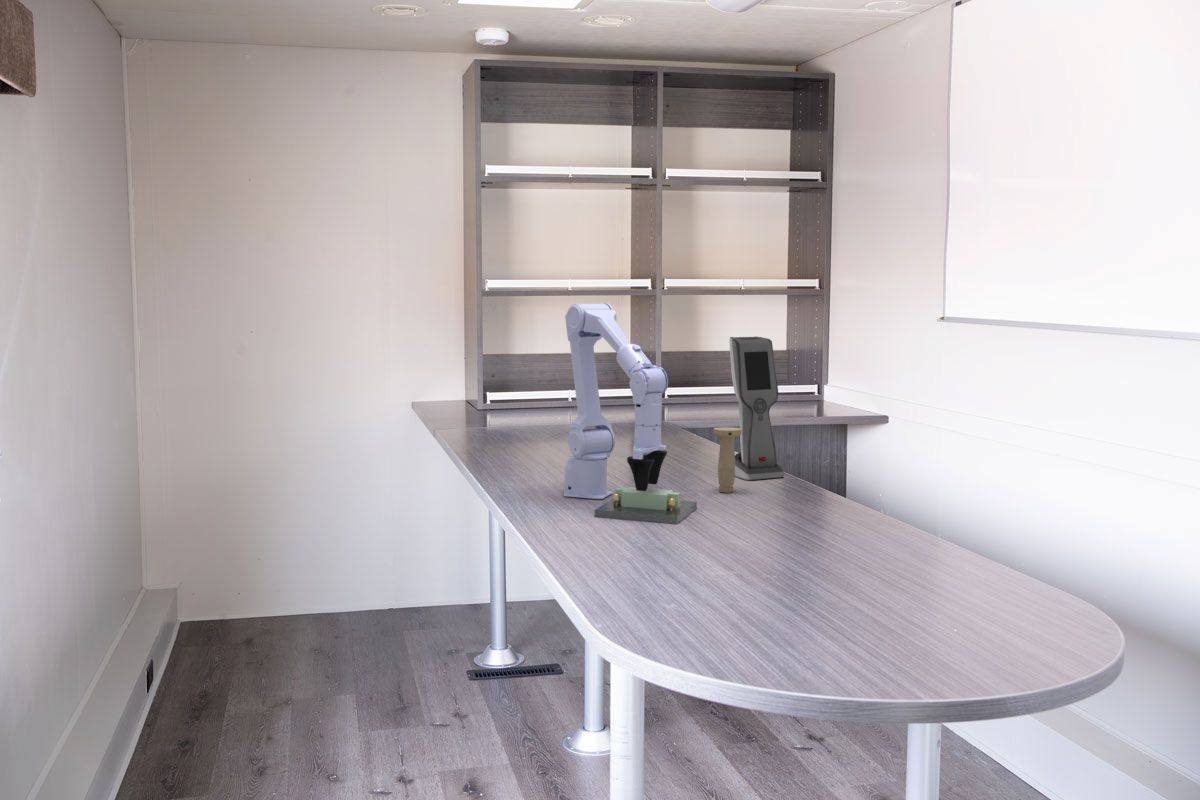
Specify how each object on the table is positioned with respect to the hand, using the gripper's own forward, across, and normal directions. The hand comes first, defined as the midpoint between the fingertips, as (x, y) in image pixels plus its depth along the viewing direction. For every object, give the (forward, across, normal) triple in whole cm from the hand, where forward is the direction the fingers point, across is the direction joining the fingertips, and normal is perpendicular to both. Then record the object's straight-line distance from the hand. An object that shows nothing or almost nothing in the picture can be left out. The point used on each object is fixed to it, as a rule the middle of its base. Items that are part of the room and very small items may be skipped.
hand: (646, 487), depth 235 cm
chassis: (+6, 0, 0) cm, 6 cm away
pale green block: (+4, 0, 0) cm, 4 cm away
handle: (+6, +28, -11) cm, 31 cm away
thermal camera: (+6, +51, -13) cm, 53 cm away
